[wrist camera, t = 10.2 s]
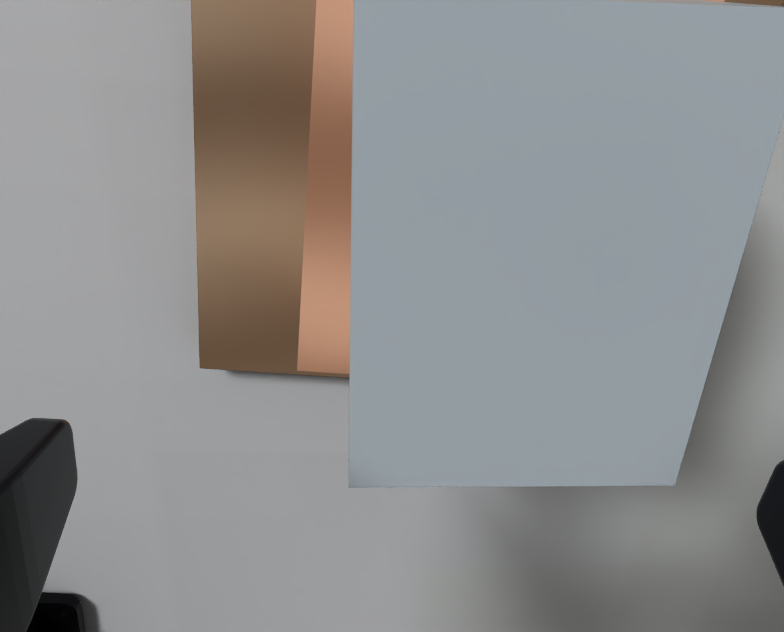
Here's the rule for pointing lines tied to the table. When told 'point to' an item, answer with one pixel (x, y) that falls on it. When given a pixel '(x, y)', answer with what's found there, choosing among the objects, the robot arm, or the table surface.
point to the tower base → (275, 183)
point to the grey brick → (547, 231)
